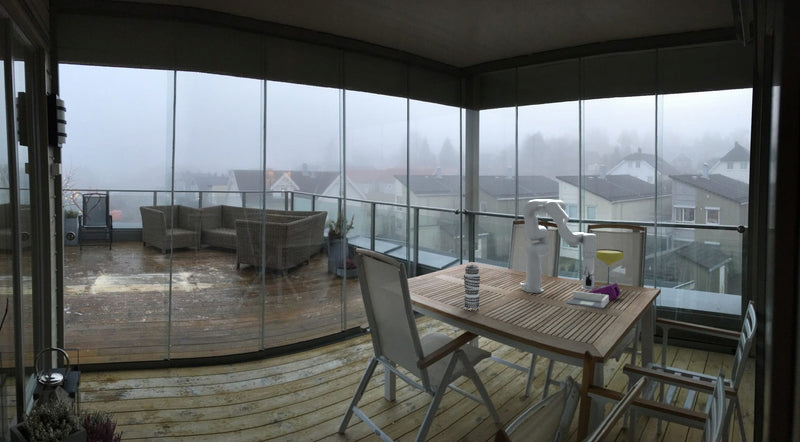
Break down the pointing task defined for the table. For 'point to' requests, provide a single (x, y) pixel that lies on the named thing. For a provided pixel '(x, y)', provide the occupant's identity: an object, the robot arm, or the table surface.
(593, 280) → the angle bracket
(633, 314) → the table surface
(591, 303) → the tray
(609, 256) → the cocktail glass
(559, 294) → the table surface
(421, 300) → the table surface
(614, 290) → the mounting bracket
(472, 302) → the decorative candle
